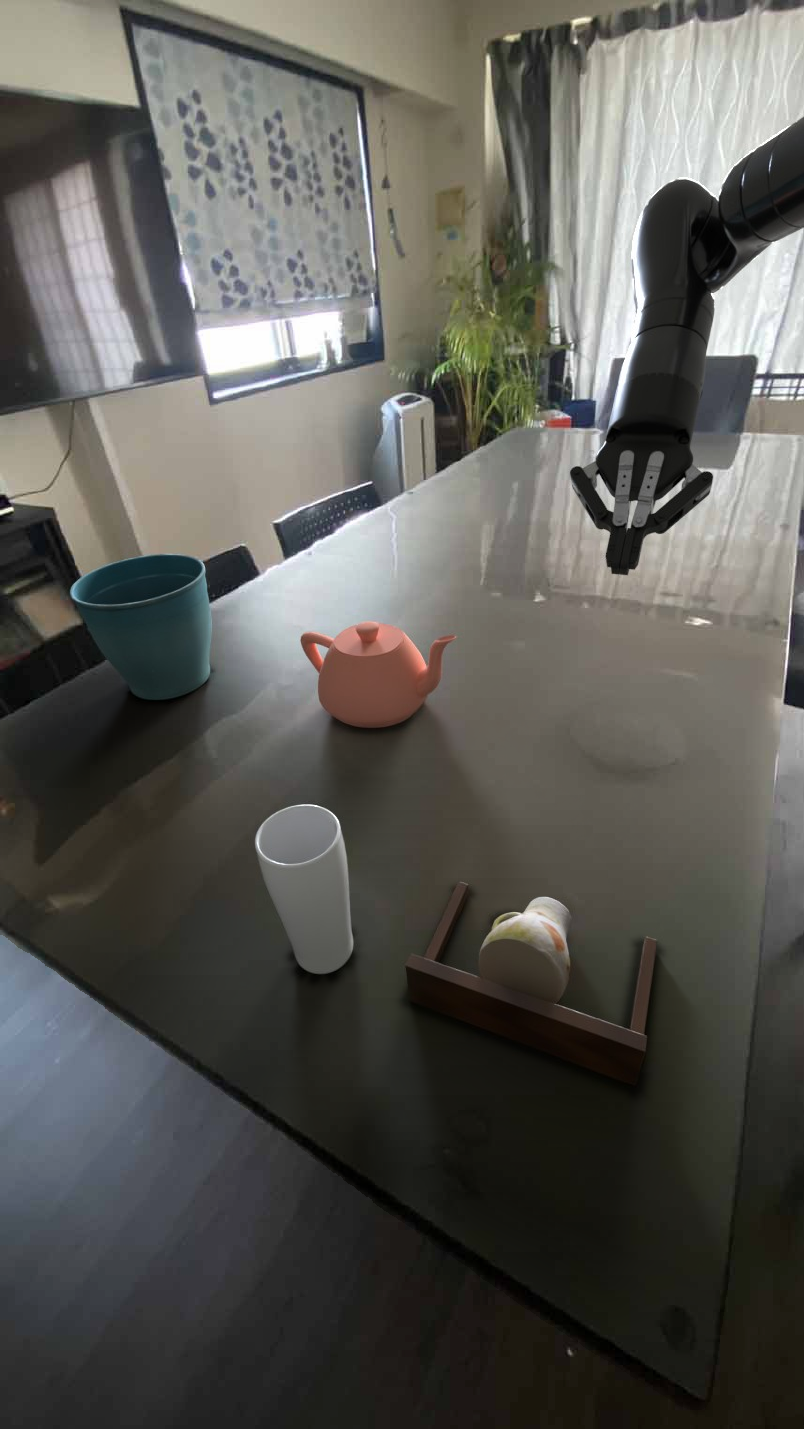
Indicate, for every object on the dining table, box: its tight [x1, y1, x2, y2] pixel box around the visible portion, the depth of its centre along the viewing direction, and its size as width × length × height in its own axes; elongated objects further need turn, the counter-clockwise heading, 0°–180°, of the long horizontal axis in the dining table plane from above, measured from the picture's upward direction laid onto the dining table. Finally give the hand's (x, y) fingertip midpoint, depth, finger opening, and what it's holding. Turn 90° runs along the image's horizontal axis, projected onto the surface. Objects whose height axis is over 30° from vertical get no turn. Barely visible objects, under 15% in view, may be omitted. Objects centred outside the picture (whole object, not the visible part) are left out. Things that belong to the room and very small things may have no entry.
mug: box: [477, 896, 572, 1004], centre depth 53 cm, size 8×10×10 cm
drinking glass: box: [254, 804, 355, 975], centre depth 53 cm, size 7×7×15 cm
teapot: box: [299, 620, 457, 729], centre depth 85 cm, size 22×15×12 cm
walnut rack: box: [404, 881, 658, 1087], centre depth 53 cm, size 18×12×5 cm
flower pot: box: [69, 553, 213, 701], centre depth 94 cm, size 18×18×17 cm
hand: (619, 571), depth 58 cm, fingers closed
